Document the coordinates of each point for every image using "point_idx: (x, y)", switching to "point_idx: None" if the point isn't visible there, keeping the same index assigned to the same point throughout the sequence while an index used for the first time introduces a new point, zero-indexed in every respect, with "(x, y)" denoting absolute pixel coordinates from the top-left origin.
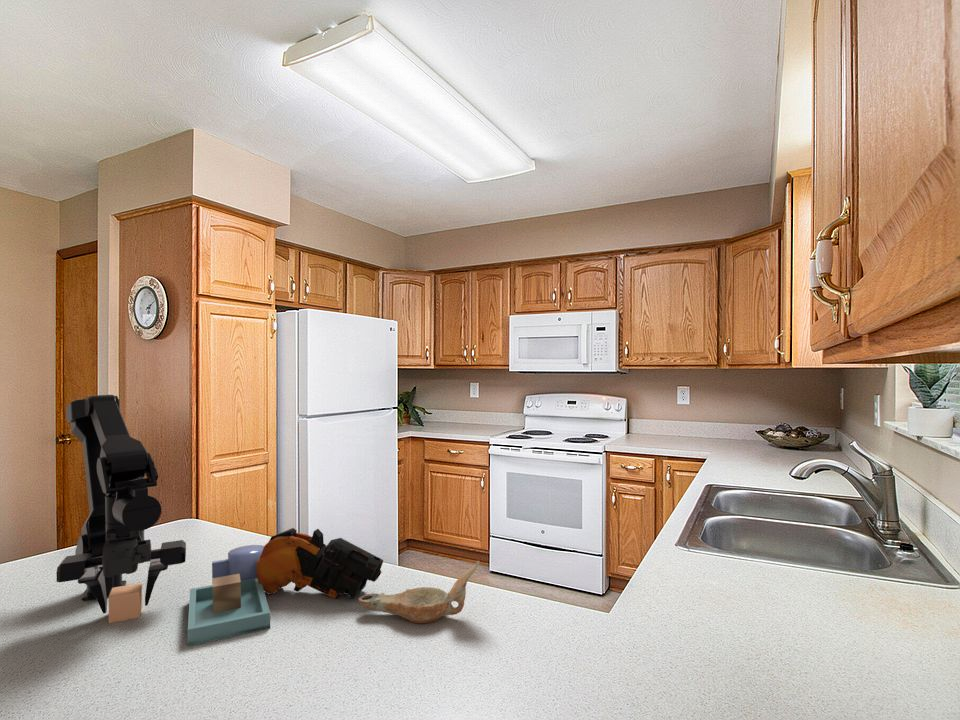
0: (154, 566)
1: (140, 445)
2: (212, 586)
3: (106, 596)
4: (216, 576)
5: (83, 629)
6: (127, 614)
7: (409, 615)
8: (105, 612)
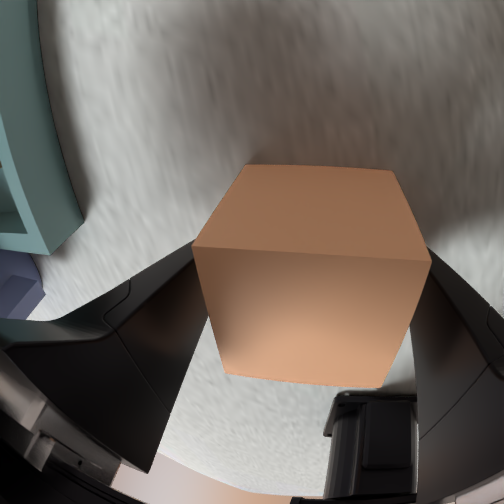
0: (23, 393)
1: None
2: (2, 236)
3: (412, 338)
4: (16, 294)
5: (490, 162)
6: (302, 174)
7: None
8: None
